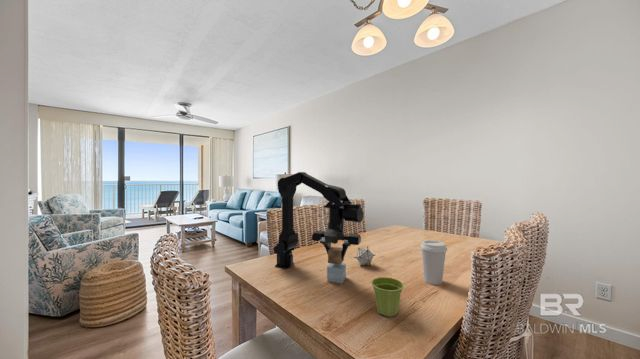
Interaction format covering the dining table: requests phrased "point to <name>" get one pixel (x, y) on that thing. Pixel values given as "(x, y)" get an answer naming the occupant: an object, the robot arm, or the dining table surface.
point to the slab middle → (336, 275)
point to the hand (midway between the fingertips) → (336, 259)
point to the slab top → (336, 268)
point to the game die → (364, 256)
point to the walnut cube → (335, 255)
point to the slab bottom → (336, 279)
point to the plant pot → (387, 295)
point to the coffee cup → (433, 261)
